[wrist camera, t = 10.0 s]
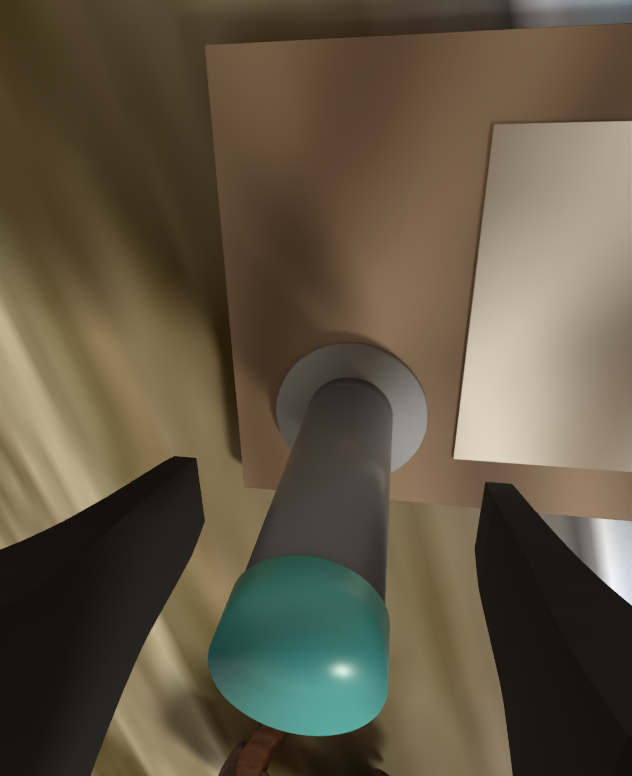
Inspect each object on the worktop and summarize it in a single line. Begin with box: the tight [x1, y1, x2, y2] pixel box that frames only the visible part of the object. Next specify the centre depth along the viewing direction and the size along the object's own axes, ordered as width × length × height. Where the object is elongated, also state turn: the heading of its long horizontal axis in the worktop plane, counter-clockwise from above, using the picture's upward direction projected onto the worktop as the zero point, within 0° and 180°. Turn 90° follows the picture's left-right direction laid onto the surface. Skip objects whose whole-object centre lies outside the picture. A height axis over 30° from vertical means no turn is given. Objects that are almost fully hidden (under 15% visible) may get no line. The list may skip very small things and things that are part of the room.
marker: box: [208, 377, 393, 736], centre depth 12 cm, size 3×3×9 cm
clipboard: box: [205, 23, 632, 521], centre depth 15 cm, size 19×14×1 cm
